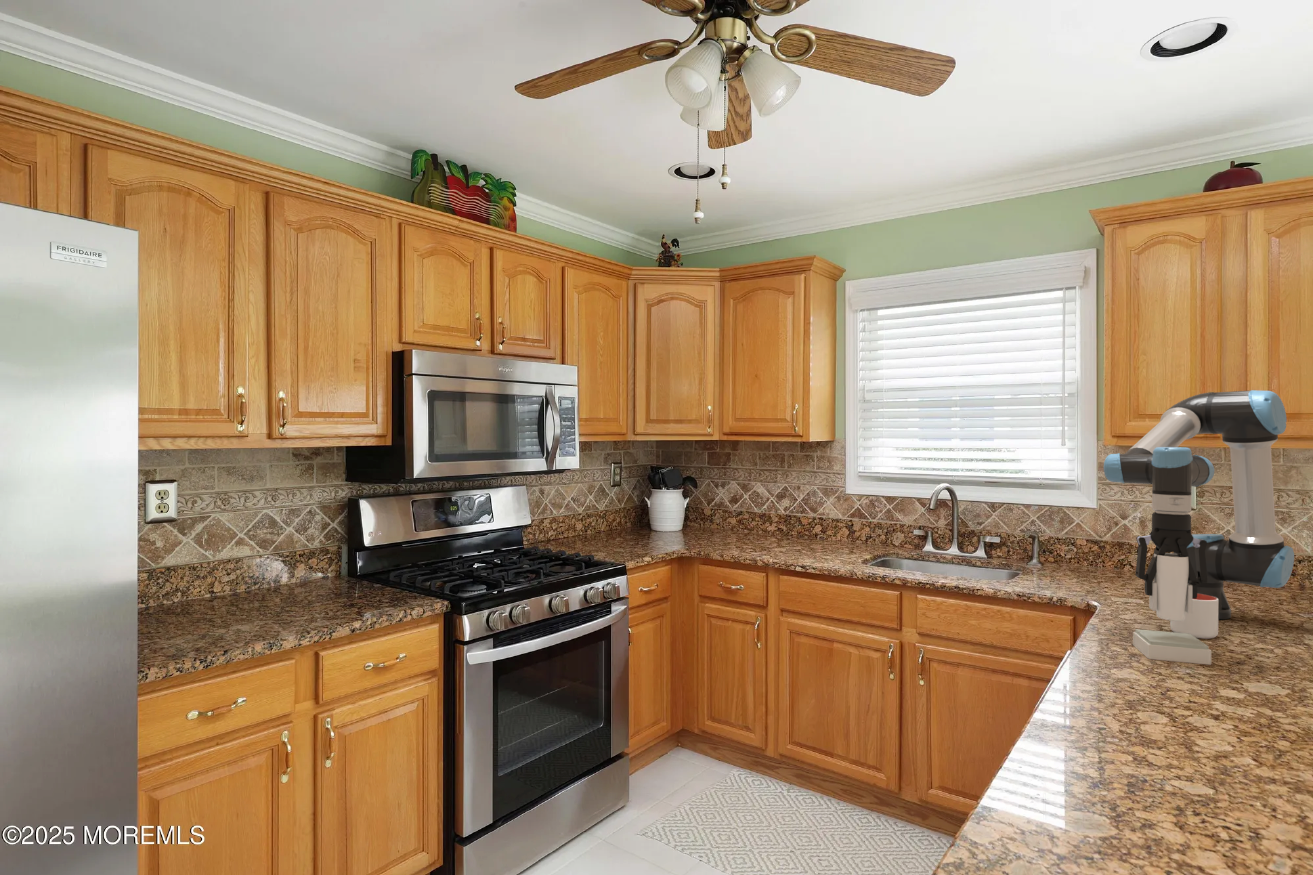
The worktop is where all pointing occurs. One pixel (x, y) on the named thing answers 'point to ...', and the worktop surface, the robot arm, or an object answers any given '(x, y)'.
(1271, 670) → the worktop surface
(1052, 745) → the worktop surface
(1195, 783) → the worktop surface
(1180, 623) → the cup
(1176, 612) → the drinking glass
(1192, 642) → the coaster
